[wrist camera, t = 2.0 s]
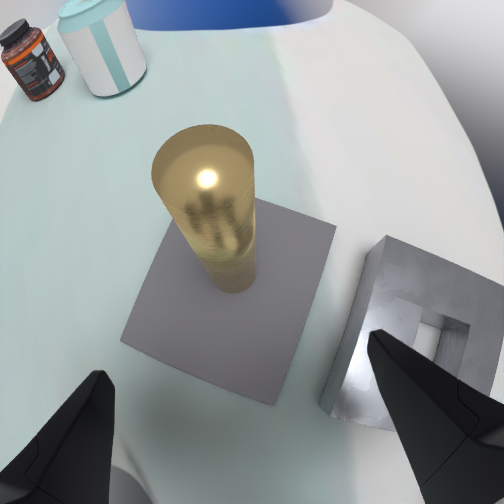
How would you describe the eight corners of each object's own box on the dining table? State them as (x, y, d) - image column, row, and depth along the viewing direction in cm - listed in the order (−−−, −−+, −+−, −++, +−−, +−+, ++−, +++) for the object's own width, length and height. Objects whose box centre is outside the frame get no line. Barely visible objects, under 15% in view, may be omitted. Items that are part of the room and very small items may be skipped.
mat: (273, 405, 20) (273, 406, 20) (122, 341, 22) (119, 340, 21) (335, 227, 24) (336, 226, 24) (193, 180, 25) (193, 178, 25)
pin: (246, 300, 22) (229, 226, 9) (204, 284, 23) (134, 193, 9) (262, 258, 23) (268, 138, 10) (221, 244, 23) (179, 116, 10)
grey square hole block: (446, 433, 19) (472, 443, 15) (317, 405, 20) (329, 416, 16) (481, 298, 22) (510, 289, 18) (367, 252, 23) (386, 234, 20)
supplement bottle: (72, 78, 31) (37, 16, 20) (36, 108, 30) (-6, 50, 19) (58, 66, 32) (26, 10, 21) (26, 93, 31) (-12, 41, 20)
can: (88, 78, 30) (51, 7, 19) (139, 53, 31) (113, -24, 20) (97, 110, 29) (52, 28, 17) (155, 80, 29) (126, -9, 18)
